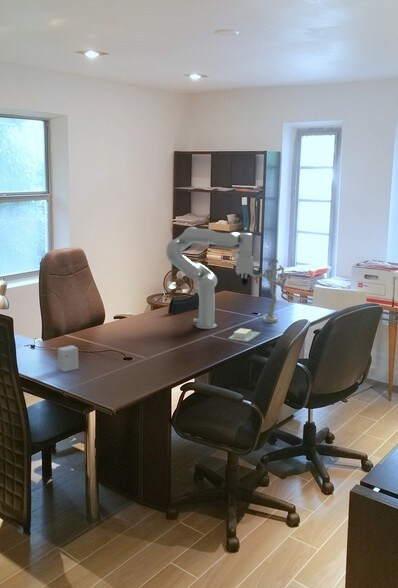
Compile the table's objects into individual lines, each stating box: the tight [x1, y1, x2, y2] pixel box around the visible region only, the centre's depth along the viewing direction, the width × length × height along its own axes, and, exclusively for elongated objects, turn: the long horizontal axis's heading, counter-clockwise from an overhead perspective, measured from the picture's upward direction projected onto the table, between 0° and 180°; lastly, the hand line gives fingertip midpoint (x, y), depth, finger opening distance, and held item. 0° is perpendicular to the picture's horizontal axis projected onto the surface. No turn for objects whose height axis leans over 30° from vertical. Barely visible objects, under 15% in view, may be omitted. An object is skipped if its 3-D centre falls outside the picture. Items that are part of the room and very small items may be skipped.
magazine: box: [168, 292, 199, 314], centre depth 395 cm, size 17×3×30 cm
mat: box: [227, 330, 262, 343], centre depth 337 cm, size 12×20×1 cm, turn 153°
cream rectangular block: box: [233, 327, 252, 338], centre depth 337 cm, size 3×10×7 cm
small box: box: [57, 344, 80, 373], centre depth 278 cm, size 8×6×10 cm
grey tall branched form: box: [252, 258, 291, 324], centre depth 371 cm, size 28×24×40 cm
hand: (244, 284), depth 348 cm, fingers closed
